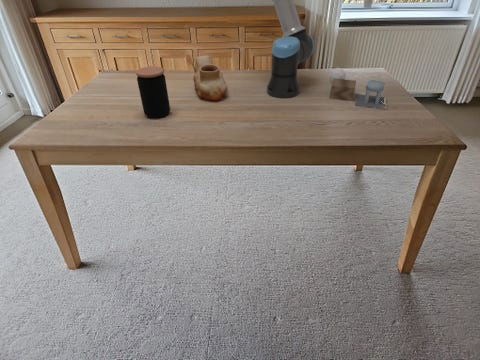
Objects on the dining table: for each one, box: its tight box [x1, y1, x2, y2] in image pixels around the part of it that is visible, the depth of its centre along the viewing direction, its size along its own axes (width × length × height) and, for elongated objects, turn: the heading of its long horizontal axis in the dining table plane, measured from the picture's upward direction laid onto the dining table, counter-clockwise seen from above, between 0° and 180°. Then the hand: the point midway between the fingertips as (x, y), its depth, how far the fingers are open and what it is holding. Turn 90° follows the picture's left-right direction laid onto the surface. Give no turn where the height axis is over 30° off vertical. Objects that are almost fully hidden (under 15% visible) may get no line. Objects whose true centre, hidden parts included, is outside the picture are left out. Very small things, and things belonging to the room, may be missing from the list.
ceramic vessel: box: [192, 54, 228, 103], centre depth 143 cm, size 14×26×15 cm, turn 19°
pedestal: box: [329, 78, 357, 102], centre depth 140 cm, size 10×10×6 cm
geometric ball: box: [328, 67, 347, 84], centre depth 153 cm, size 8×8×8 cm
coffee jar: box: [135, 65, 171, 120], centre depth 123 cm, size 11×11×18 cm
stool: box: [364, 80, 386, 104], centre depth 134 cm, size 7×7×8 cm
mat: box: [354, 93, 388, 109], centre depth 136 cm, size 13×13×1 cm
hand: (367, 5), depth 120 cm, fingers open, 13 cm apart
